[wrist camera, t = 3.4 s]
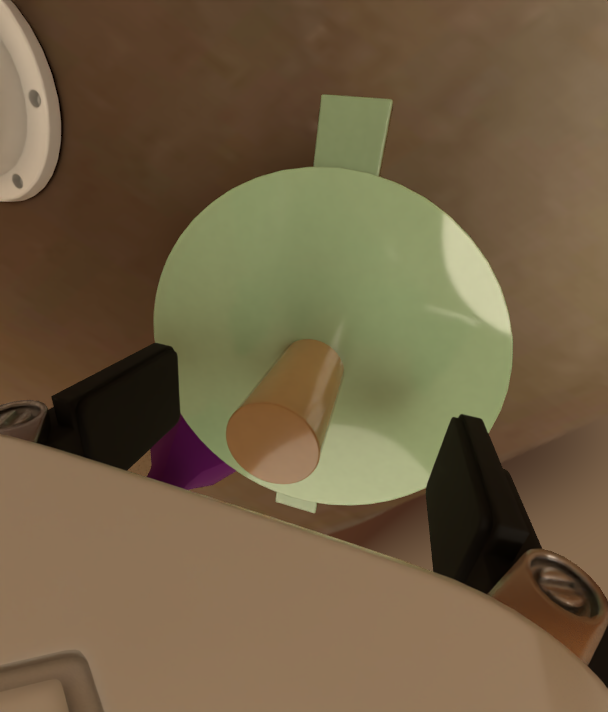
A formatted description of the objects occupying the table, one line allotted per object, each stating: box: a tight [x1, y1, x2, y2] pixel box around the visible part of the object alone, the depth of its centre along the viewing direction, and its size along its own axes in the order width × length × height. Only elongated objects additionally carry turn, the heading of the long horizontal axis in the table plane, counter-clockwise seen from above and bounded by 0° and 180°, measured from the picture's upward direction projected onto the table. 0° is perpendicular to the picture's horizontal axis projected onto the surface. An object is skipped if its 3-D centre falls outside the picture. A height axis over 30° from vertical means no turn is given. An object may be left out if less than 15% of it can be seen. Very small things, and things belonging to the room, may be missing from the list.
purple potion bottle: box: [147, 413, 236, 490], centre depth 19 cm, size 8×8×18 cm
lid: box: [154, 167, 513, 505], centre depth 12 cm, size 15×15×6 cm
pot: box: [275, 94, 393, 513], centre depth 18 cm, size 14×19×8 cm
